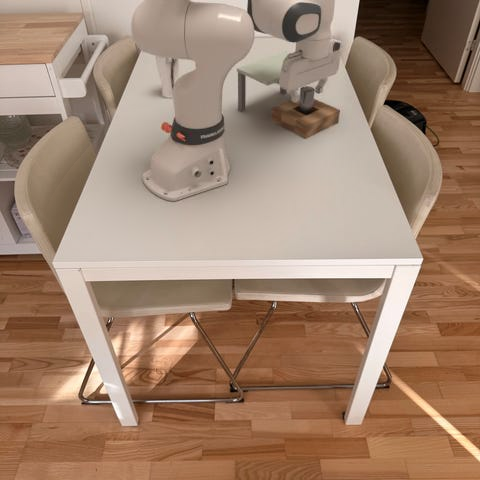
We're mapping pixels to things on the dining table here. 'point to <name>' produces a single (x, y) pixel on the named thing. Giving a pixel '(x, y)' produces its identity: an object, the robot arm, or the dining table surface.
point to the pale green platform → (260, 75)
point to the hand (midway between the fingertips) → (307, 97)
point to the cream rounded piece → (167, 74)
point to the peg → (306, 100)
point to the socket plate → (305, 118)
